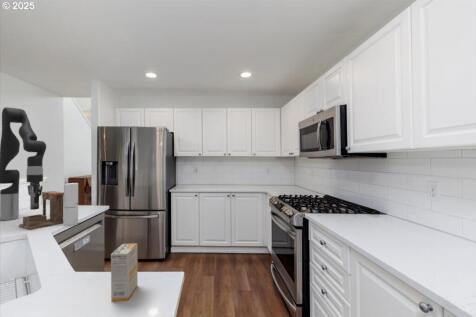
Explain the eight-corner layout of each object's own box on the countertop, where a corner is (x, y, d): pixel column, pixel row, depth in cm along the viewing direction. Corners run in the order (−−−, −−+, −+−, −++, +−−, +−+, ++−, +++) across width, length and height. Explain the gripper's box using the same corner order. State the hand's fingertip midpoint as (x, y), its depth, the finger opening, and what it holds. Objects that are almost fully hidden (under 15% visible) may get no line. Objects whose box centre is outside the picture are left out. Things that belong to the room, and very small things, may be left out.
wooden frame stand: (18, 226, 143) (18, 194, 143) (53, 220, 158) (53, 191, 159) (29, 230, 136) (30, 196, 136) (64, 223, 151) (64, 192, 151)
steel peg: (29, 209, 143) (29, 188, 143) (37, 208, 147) (37, 188, 147) (32, 209, 141) (32, 189, 141) (40, 208, 145) (40, 188, 145)
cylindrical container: (80, 223, 151) (80, 183, 152) (71, 226, 144) (72, 184, 144) (70, 222, 152) (70, 183, 152) (60, 225, 145) (61, 184, 145)
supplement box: (121, 286, 74) (121, 243, 74) (138, 285, 74) (138, 242, 75) (109, 301, 66) (110, 253, 66) (128, 301, 66) (128, 253, 66)
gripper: (21, 174, 144) (21, 202, 144) (32, 174, 137) (32, 204, 137) (37, 173, 151) (37, 201, 151) (48, 173, 144) (47, 202, 144)
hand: (34, 202), depth 144 cm, fingers closed on steel peg, 4 cm apart
